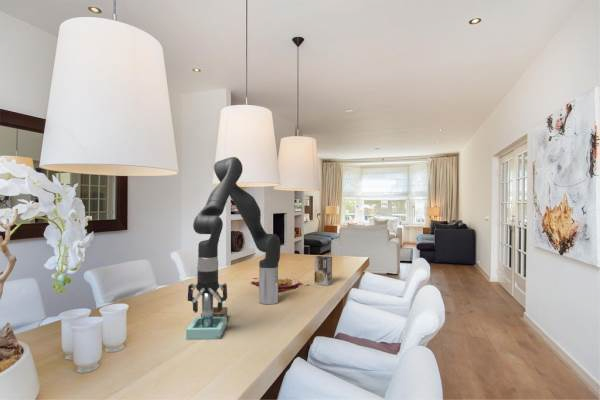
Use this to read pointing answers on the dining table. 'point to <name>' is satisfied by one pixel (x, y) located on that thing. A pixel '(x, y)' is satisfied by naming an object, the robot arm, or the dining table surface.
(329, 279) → the coffee box
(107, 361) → the dining table surface
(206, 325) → the pin
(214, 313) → the holder
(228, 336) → the dining table surface
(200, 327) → the tray
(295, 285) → the plate with food
